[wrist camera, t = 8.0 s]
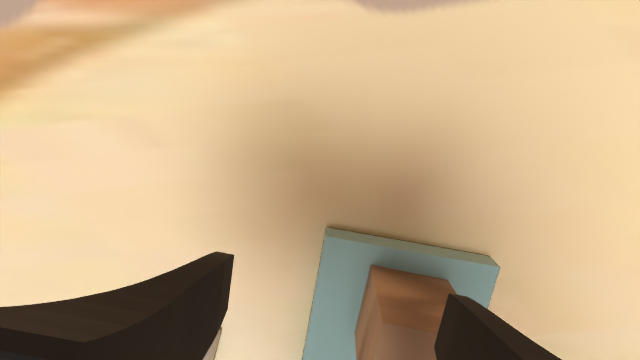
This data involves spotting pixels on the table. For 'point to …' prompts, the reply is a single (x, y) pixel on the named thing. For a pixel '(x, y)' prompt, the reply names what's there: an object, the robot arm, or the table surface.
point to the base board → (351, 276)
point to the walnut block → (400, 315)
